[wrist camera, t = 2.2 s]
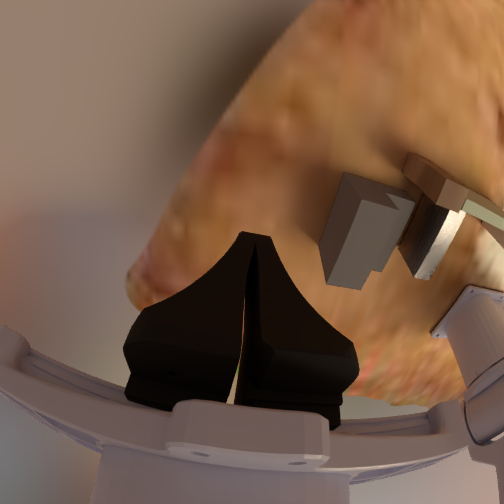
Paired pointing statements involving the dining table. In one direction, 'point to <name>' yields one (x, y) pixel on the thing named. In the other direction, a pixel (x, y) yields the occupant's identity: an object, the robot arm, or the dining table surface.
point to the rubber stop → (362, 230)
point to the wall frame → (442, 188)
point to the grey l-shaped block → (441, 231)
